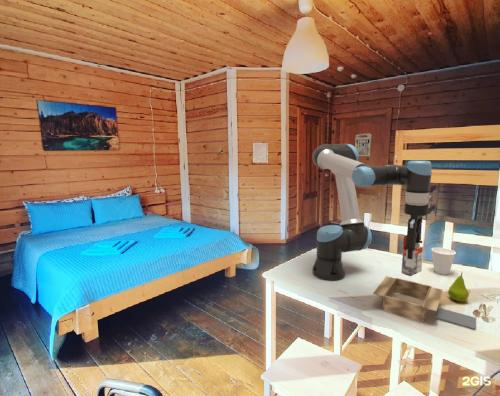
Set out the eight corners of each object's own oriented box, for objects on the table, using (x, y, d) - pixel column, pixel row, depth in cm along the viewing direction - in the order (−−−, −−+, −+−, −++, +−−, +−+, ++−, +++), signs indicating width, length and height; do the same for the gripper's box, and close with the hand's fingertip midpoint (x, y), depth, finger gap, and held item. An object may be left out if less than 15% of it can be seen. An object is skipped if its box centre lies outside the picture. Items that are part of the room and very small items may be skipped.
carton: (372, 307, 111) (373, 292, 110) (385, 288, 126) (386, 275, 125) (434, 326, 98) (436, 310, 97) (441, 303, 113) (442, 288, 112)
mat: (436, 318, 103) (436, 317, 103) (438, 309, 109) (439, 307, 109) (475, 330, 96) (475, 328, 96) (475, 319, 102) (476, 317, 102)
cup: (458, 274, 139) (460, 252, 137) (445, 278, 134) (448, 255, 132) (437, 266, 147) (439, 246, 146) (424, 270, 143) (426, 249, 141)
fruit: (446, 300, 115) (449, 272, 113) (449, 294, 119) (451, 267, 118) (466, 306, 111) (469, 276, 109) (468, 299, 115) (471, 271, 113)
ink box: (421, 271, 110) (424, 234, 108) (410, 276, 106) (413, 238, 103) (412, 268, 113) (414, 232, 111) (400, 273, 109) (403, 236, 106)
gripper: (423, 209, 95) (418, 275, 98) (432, 200, 111) (428, 256, 115) (398, 207, 99) (394, 269, 103) (410, 198, 116) (406, 252, 119)
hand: (412, 262), depth 109 cm, fingers closed on ink box, 8 cm apart
